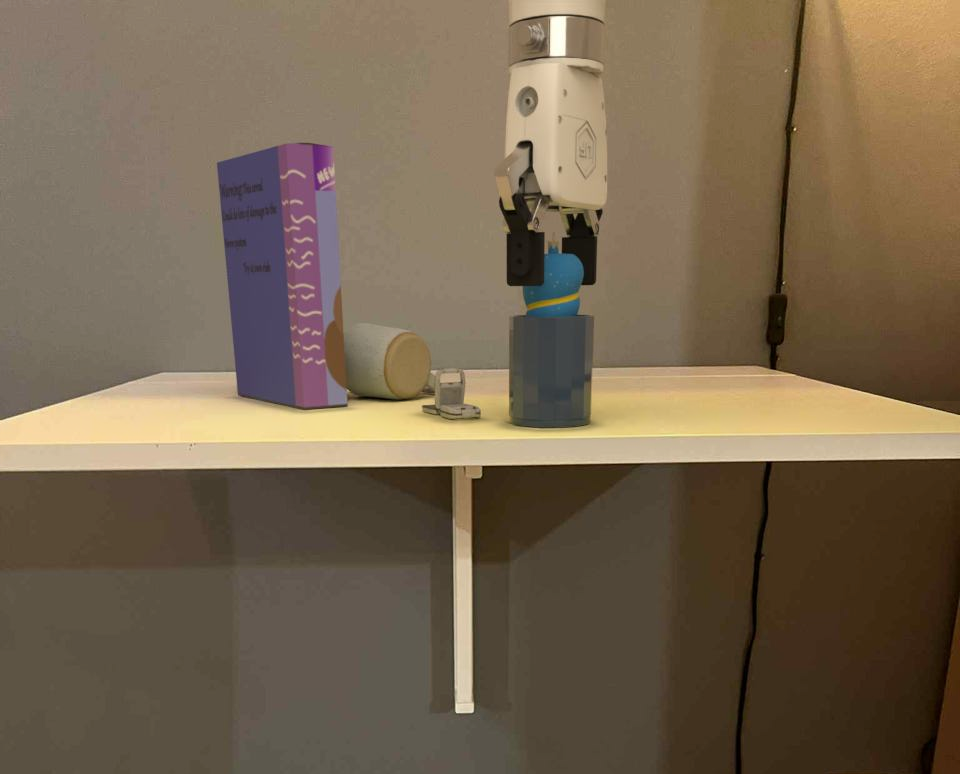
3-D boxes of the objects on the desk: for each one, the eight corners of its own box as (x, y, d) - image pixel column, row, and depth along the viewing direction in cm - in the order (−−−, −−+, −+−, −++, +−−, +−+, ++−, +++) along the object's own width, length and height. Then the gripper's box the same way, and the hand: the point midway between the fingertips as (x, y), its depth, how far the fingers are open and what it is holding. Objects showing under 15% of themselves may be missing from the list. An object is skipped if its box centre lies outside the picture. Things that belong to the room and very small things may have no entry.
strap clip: (484, 418, 90) (483, 370, 88) (453, 420, 89) (453, 372, 87) (447, 409, 97) (447, 364, 96) (419, 410, 96) (418, 365, 95)
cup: (604, 419, 88) (607, 314, 85) (567, 429, 83) (570, 317, 80) (534, 415, 92) (535, 314, 89) (494, 424, 86) (494, 316, 83)
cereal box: (347, 406, 100) (333, 144, 92) (304, 409, 97) (285, 140, 89) (277, 392, 114) (259, 162, 105) (238, 395, 111) (216, 160, 103)
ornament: (571, 410, 90) (575, 234, 85) (587, 417, 85) (592, 230, 80) (516, 412, 89) (517, 234, 84) (528, 419, 84) (530, 231, 79)
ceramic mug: (388, 403, 102) (386, 325, 99) (335, 397, 107) (332, 323, 104) (457, 396, 109) (457, 323, 107) (405, 391, 114) (404, 322, 112)
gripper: (546, 25, 69) (543, 286, 75) (643, 67, 83) (634, 284, 88) (456, 40, 73) (460, 286, 78) (563, 78, 86) (560, 285, 92)
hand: (553, 285), depth 83 cm, fingers open, 9 cm apart
